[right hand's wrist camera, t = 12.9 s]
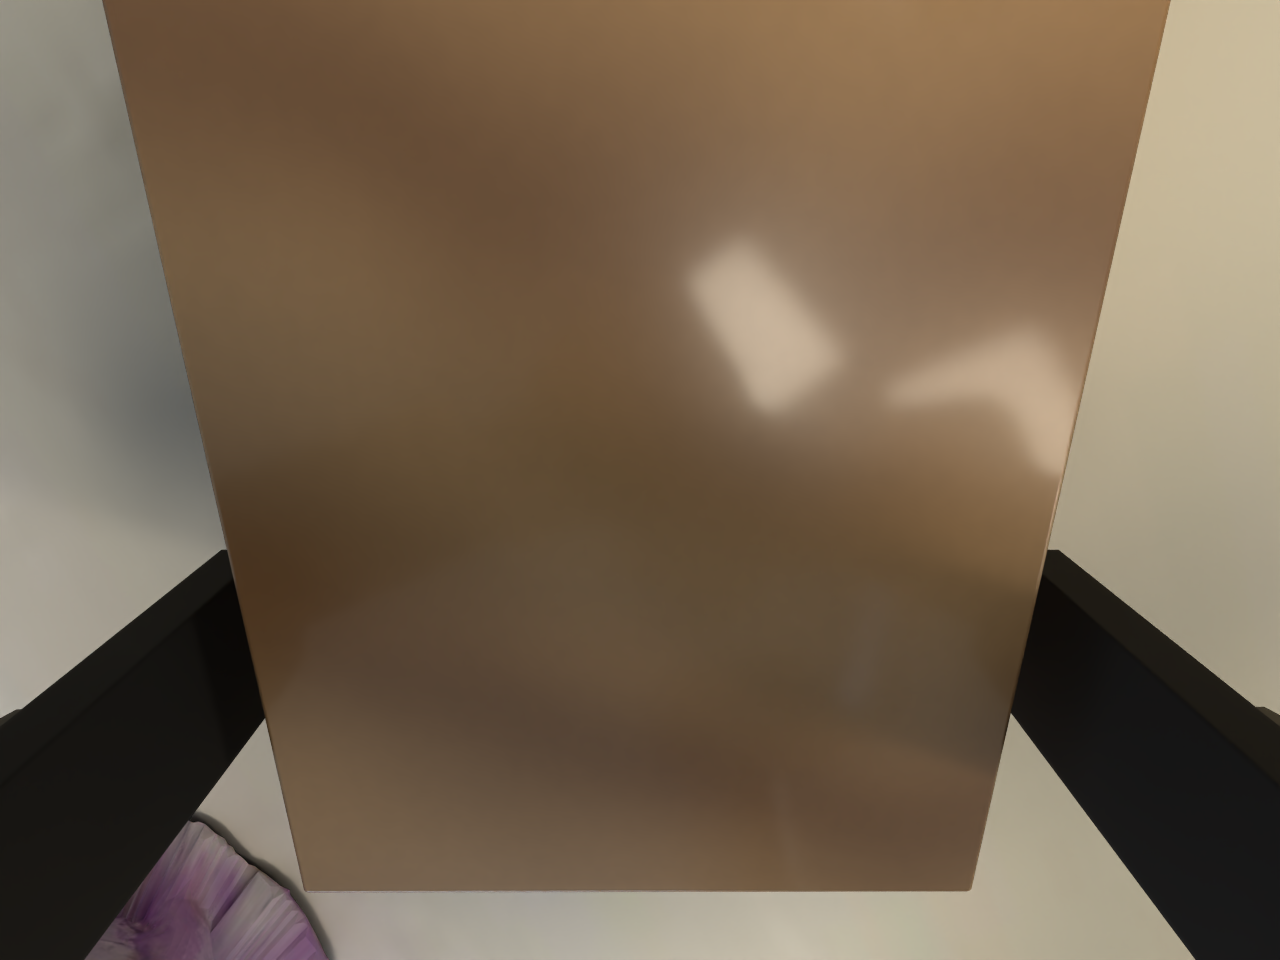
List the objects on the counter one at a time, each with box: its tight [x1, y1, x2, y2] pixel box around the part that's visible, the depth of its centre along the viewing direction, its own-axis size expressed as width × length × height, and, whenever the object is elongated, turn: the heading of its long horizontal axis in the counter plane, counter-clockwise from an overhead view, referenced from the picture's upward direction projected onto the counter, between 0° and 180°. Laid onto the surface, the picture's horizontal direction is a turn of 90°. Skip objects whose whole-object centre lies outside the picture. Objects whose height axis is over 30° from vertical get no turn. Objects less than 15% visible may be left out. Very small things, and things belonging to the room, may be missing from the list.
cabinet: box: [102, 0, 1171, 892], centre depth 11 cm, size 21×10×8 cm, turn 0°
